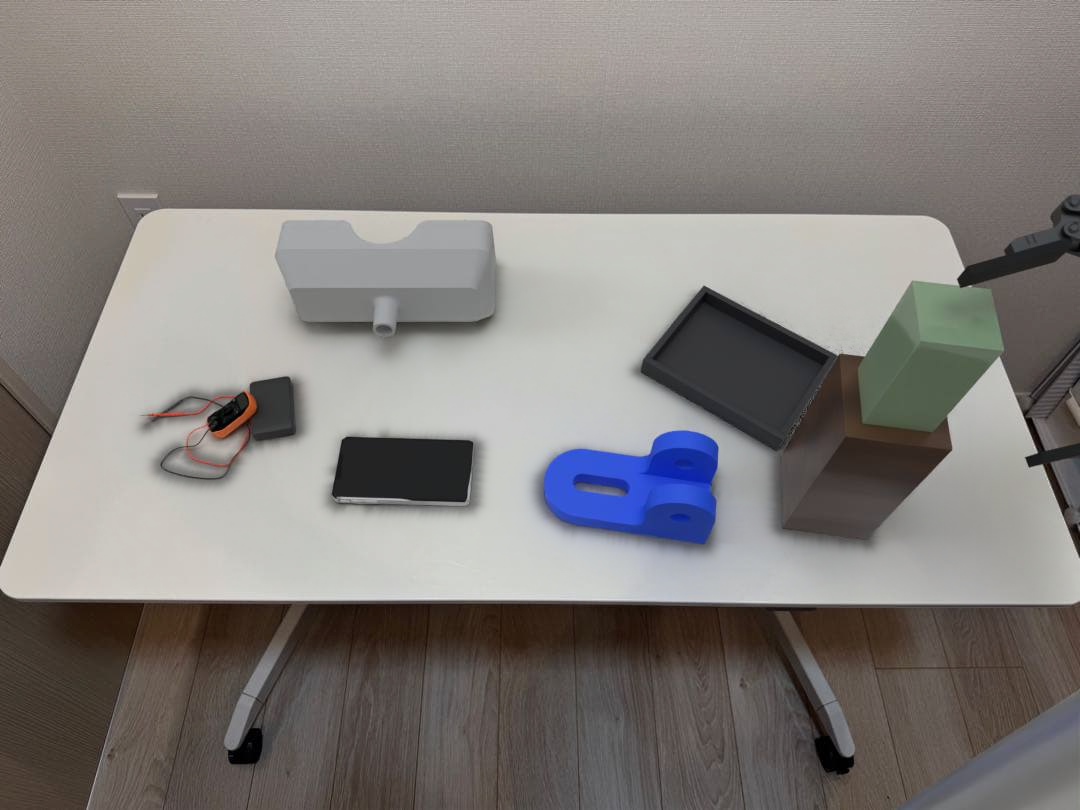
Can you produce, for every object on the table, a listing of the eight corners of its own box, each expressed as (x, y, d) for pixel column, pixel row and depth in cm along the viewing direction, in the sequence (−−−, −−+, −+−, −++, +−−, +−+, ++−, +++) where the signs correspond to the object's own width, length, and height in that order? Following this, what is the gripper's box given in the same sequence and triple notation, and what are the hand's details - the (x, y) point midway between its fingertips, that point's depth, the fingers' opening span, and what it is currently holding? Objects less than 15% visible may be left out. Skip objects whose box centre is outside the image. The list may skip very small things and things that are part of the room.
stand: (866, 540, 82) (952, 450, 65) (782, 528, 83) (845, 436, 66) (860, 466, 87) (939, 364, 70) (780, 456, 88) (839, 353, 71)
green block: (932, 432, 66) (1004, 350, 56) (862, 423, 67) (921, 340, 57) (924, 376, 69) (991, 288, 59) (857, 368, 70) (912, 279, 60)
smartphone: (468, 503, 83) (330, 499, 83) (469, 508, 84) (332, 504, 84) (473, 439, 87) (342, 435, 87) (474, 444, 88) (344, 440, 88)
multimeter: (130, 489, 85) (115, 475, 82) (144, 399, 91) (132, 383, 88) (294, 470, 86) (286, 455, 83) (298, 382, 93) (290, 366, 90)
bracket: (707, 475, 86) (724, 435, 79) (704, 544, 82) (721, 509, 74) (550, 452, 88) (551, 411, 80) (538, 518, 83) (538, 481, 76)
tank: (290, 361, 94) (260, 295, 84) (310, 264, 103) (285, 193, 92) (493, 361, 95) (488, 294, 84) (496, 264, 103) (492, 193, 93)
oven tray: (776, 451, 88) (783, 440, 86) (640, 371, 94) (642, 359, 92) (831, 367, 94) (838, 355, 92) (700, 298, 100) (703, 285, 98)
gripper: (1390, 469, 50) (1043, 544, 54) (1226, 139, 56) (924, 228, 60) (1501, 455, 43) (1092, 542, 47) (1299, 78, 49) (951, 183, 53)
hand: (997, 366), depth 53 cm, fingers open, 13 cm apart
